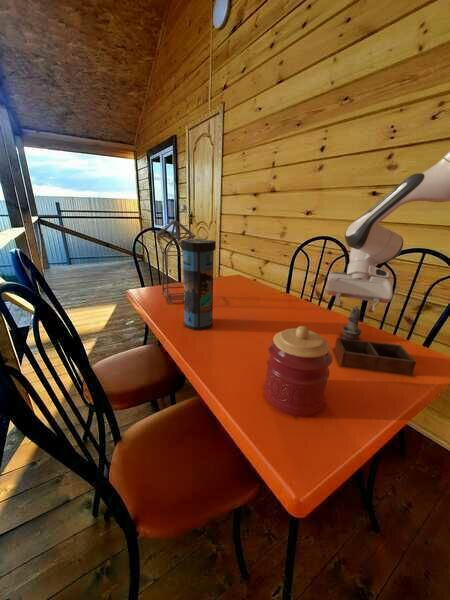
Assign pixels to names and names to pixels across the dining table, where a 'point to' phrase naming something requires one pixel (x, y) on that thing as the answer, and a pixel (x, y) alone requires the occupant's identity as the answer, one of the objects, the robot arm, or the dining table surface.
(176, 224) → the geometric lantern
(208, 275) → the advertising column
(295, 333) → the kitchen canister
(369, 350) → the holder
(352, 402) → the dining table surface
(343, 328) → the grey stone statuette
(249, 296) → the dining table surface
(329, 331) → the dining table surface
